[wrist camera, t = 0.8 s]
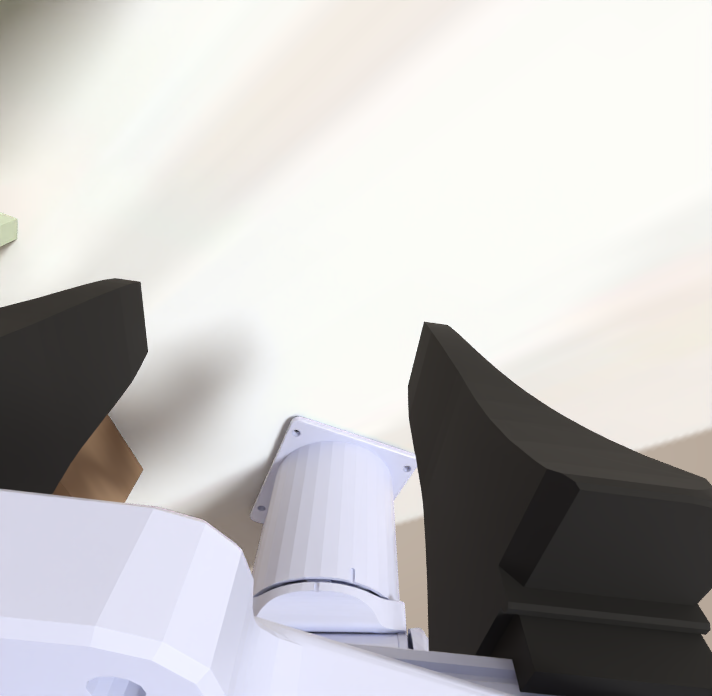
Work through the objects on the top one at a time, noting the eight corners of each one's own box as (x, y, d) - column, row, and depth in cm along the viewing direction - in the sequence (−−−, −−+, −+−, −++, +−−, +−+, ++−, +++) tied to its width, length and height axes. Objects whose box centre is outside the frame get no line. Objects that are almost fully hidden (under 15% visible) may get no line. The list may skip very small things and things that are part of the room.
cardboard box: (144, 468, 28) (102, 540, 24) (80, 477, 29) (28, 550, 25) (91, 386, 25) (32, 453, 21) (20, 399, 26) (-52, 467, 21)
